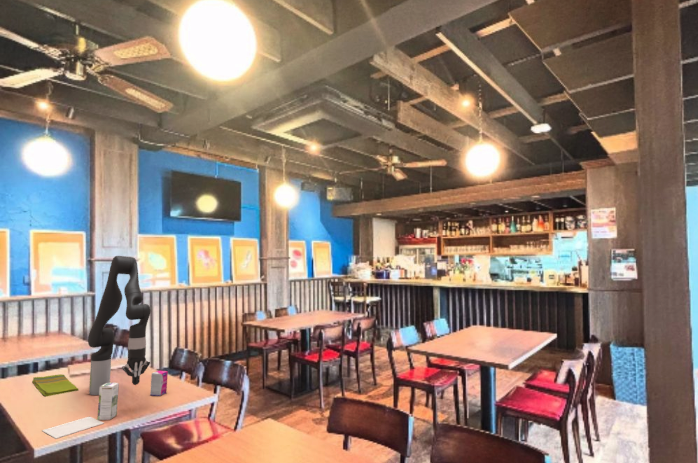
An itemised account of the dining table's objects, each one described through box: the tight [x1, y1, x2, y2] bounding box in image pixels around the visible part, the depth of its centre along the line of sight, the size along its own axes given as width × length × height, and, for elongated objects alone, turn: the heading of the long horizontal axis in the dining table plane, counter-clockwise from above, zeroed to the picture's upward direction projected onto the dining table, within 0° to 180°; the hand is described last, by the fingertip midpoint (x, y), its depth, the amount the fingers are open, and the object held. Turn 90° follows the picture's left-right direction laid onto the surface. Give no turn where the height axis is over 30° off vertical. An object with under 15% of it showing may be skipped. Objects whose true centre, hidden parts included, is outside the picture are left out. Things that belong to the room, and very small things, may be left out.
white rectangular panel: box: [41, 416, 105, 440], centre depth 170 cm, size 13×18×1 cm
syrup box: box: [96, 382, 120, 421], centre depth 181 cm, size 6×6×14 cm
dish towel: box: [32, 373, 79, 398], centre depth 225 cm, size 15×36×3 cm, turn 46°
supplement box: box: [149, 370, 169, 397], centre depth 212 cm, size 6×6×12 cm
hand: (135, 384), depth 191 cm, fingers closed
